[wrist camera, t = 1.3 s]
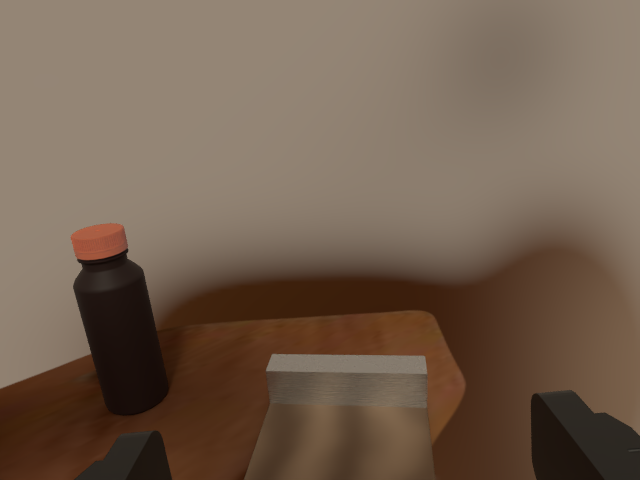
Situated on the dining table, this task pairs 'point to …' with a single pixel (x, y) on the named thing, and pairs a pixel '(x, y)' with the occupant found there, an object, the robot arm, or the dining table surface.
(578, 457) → the robot arm
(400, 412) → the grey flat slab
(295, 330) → the dining table surface
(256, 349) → the dining table surface
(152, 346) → the bottle
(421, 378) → the metal rail
